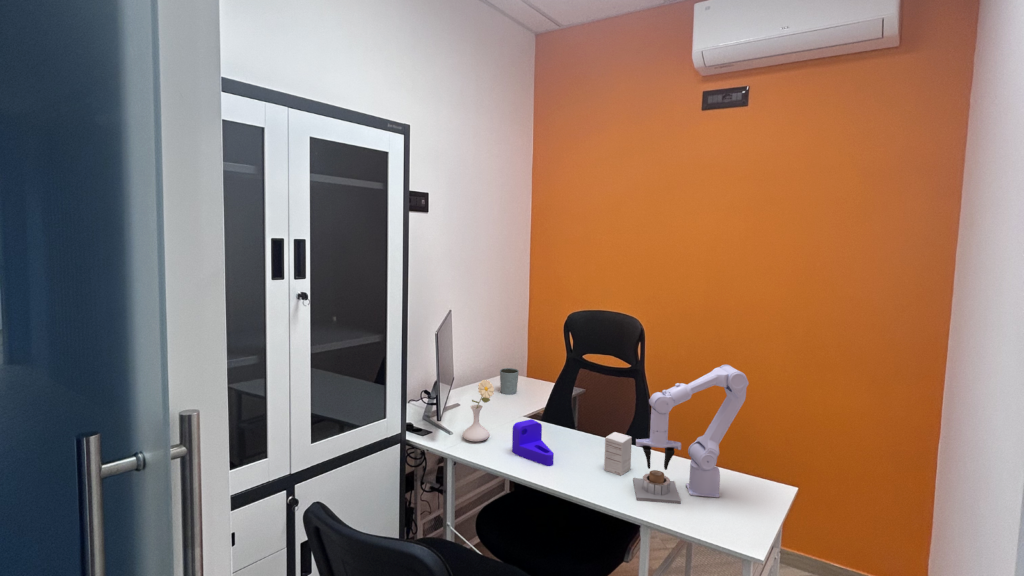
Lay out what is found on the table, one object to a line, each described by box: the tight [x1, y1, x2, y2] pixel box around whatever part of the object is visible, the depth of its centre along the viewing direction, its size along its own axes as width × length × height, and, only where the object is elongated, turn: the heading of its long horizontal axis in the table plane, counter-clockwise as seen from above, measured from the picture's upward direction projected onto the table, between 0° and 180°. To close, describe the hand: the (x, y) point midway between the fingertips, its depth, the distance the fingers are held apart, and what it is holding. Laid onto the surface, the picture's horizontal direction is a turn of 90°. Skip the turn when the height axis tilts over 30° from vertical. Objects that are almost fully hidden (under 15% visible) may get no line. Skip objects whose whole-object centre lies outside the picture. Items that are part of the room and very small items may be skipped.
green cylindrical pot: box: [499, 367, 520, 396], centre depth 291 cm, size 10×10×12 cm
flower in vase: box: [462, 379, 495, 442], centre depth 227 cm, size 13×11×25 cm
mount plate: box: [632, 477, 682, 505], centre depth 185 cm, size 14×14×1 cm
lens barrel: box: [642, 473, 671, 495], centre depth 185 cm, size 9×9×4 cm
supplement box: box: [603, 431, 633, 476], centre depth 200 cm, size 7×7×13 cm
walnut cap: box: [648, 469, 665, 484], centre depth 184 cm, size 5×5×6 cm
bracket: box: [511, 418, 554, 467], centre depth 210 cm, size 18×11×12 cm, turn 34°
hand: (657, 468), depth 184 cm, fingers open, 5 cm apart
